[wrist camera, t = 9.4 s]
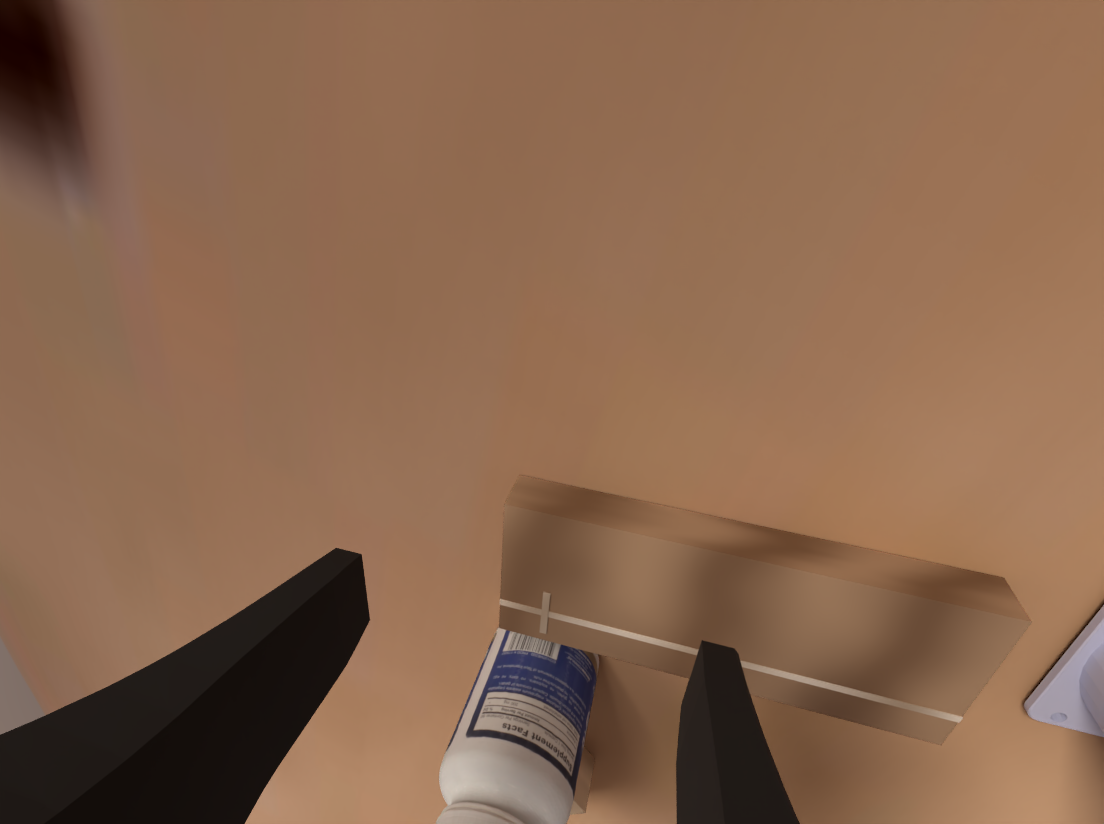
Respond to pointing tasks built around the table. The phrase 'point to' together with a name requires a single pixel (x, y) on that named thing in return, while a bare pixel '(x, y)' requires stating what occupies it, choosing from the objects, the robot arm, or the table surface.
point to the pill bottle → (520, 734)
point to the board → (756, 606)
